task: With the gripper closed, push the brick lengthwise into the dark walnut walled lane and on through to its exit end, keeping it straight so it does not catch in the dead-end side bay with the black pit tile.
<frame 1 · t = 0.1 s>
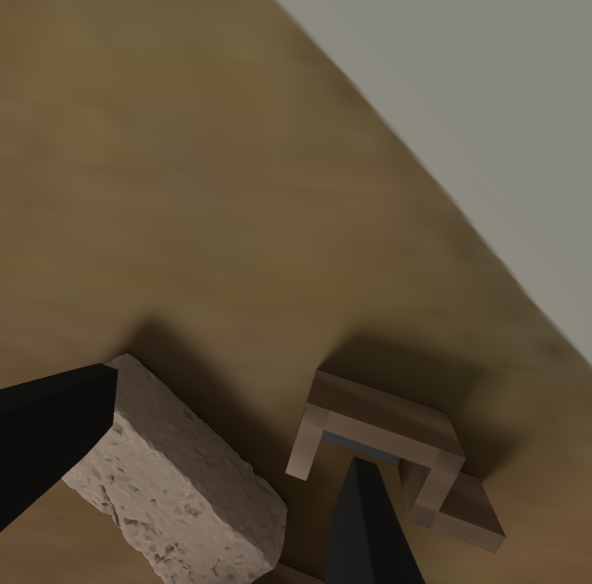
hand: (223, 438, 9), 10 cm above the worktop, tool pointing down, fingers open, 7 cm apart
trap pit: (364, 430, 19), on the worktop
tunnel: (360, 534, 19), on the worktop
brick: (182, 452, 23), on the worktop
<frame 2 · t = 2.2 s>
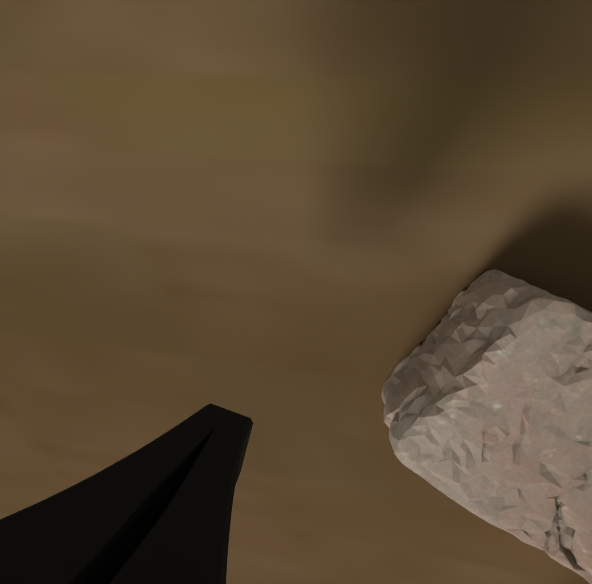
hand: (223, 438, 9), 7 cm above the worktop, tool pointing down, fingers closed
brick: (575, 427, 14), on the worktop
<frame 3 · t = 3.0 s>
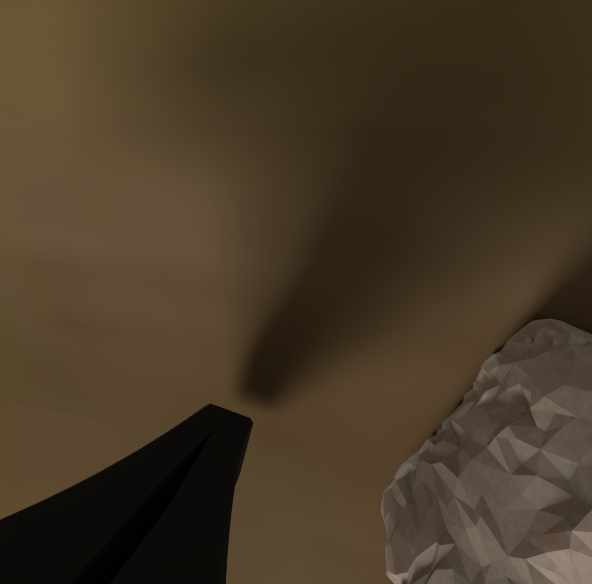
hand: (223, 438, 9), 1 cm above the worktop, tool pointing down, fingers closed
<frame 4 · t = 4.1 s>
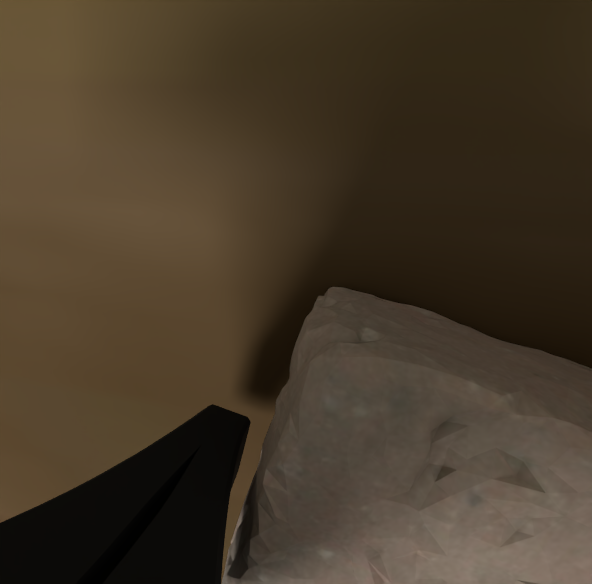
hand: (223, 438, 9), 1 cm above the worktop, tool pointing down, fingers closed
brick: (546, 488, 9), on the worktop, touching gripper
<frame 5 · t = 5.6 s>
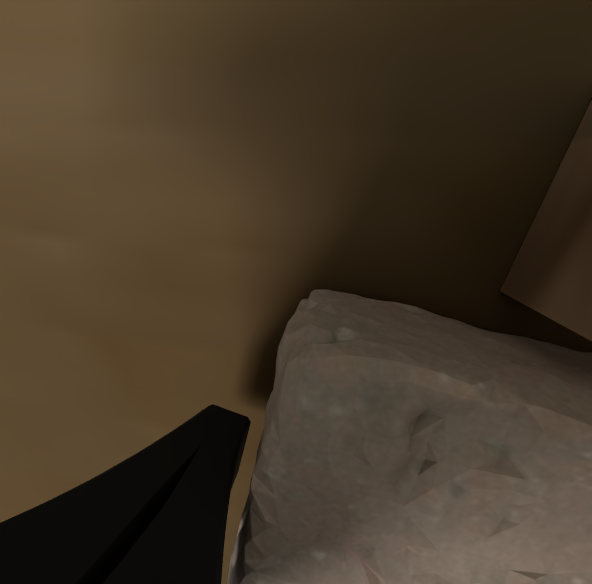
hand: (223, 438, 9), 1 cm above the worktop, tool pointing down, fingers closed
brick: (549, 476, 9), on the worktop, touching gripper
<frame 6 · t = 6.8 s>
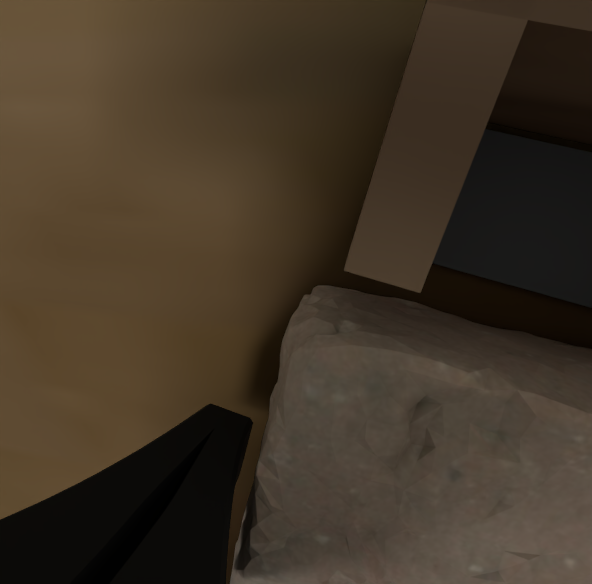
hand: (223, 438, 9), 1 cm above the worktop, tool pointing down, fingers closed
trap pit: (539, 221, 7), on the worktop
tunnel: (530, 502, 7), on the worktop
brick: (546, 468, 9), on the worktop
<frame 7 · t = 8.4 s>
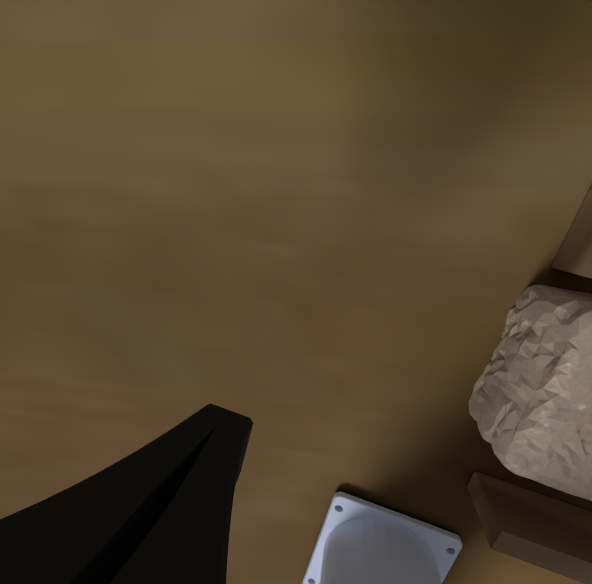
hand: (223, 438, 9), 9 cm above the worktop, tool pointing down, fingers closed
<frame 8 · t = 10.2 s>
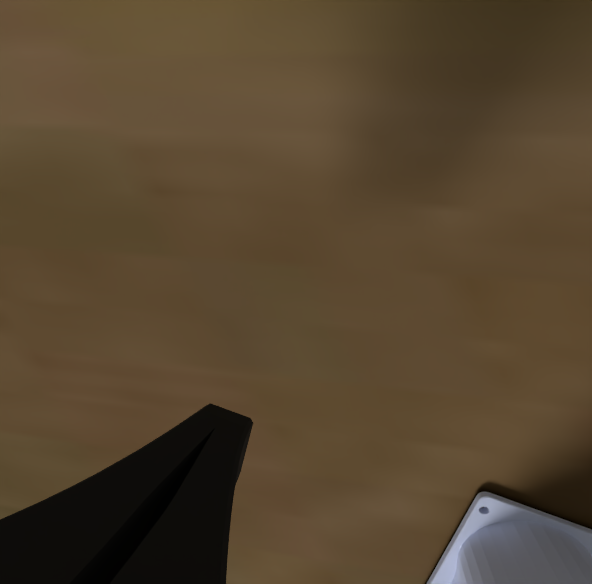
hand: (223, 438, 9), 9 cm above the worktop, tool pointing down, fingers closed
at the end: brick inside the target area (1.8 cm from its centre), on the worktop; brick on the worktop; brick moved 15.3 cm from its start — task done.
